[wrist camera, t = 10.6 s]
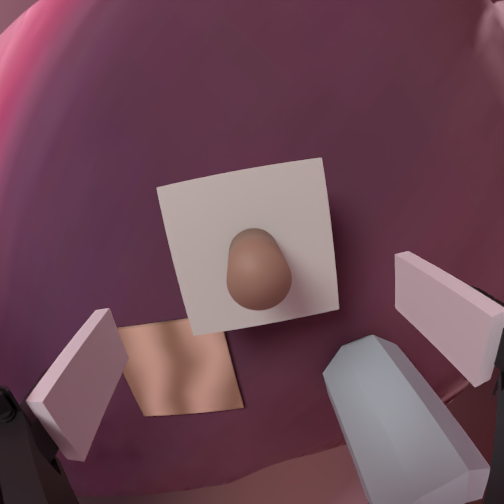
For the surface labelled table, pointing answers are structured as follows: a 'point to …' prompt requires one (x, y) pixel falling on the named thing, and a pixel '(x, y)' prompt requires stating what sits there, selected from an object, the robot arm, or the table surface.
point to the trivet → (179, 369)
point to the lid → (252, 245)
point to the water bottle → (401, 429)
